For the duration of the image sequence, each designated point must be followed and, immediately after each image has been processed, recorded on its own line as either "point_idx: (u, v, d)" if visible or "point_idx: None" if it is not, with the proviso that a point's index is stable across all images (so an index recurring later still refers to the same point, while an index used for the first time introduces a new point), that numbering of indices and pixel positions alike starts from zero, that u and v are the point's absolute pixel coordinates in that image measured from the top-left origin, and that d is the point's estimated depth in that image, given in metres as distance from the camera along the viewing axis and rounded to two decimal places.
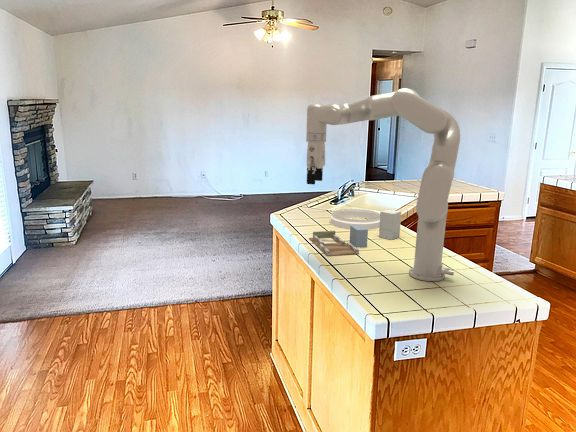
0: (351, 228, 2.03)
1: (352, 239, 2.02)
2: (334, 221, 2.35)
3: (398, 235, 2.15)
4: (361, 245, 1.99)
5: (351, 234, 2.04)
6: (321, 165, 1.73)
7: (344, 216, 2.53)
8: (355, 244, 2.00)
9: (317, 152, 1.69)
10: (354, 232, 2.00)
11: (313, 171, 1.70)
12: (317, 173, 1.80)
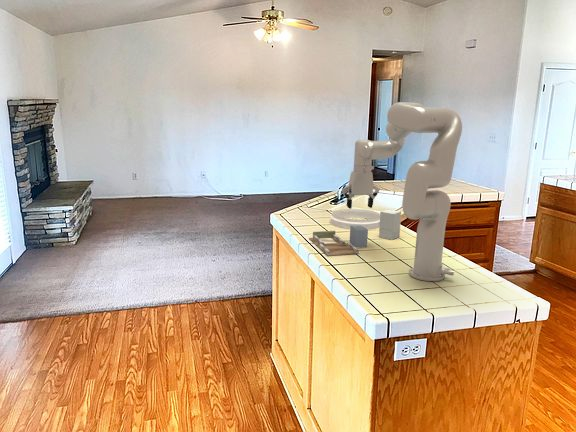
0: (351, 228, 2.03)
1: (352, 239, 2.02)
2: (334, 221, 2.35)
3: (398, 235, 2.15)
4: (361, 245, 1.99)
5: (351, 234, 2.04)
6: None
7: (344, 216, 2.53)
8: (355, 244, 2.00)
9: None
10: (354, 232, 2.00)
11: None
12: None
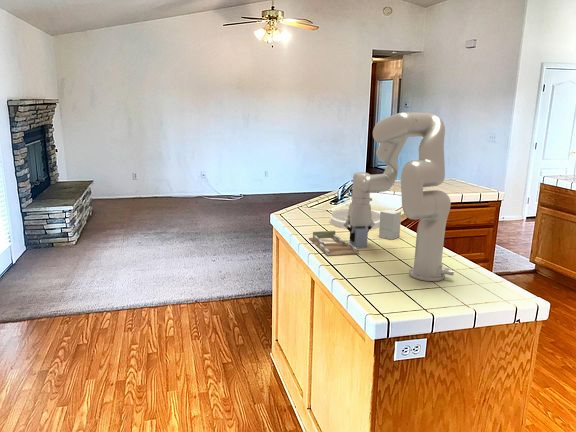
0: None
1: None
2: (334, 221, 2.35)
3: (398, 235, 2.15)
4: (361, 245, 1.99)
5: None
6: None
7: (344, 216, 2.53)
8: (355, 244, 2.00)
9: None
10: (354, 232, 2.00)
11: None
12: None
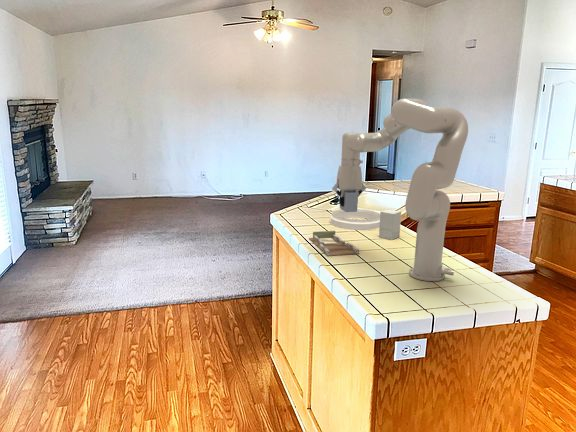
0: None
1: None
2: (334, 221, 2.35)
3: (398, 235, 2.15)
4: (351, 209, 1.89)
5: None
6: None
7: (344, 216, 2.53)
8: (344, 208, 1.90)
9: None
10: (344, 196, 1.90)
11: None
12: None
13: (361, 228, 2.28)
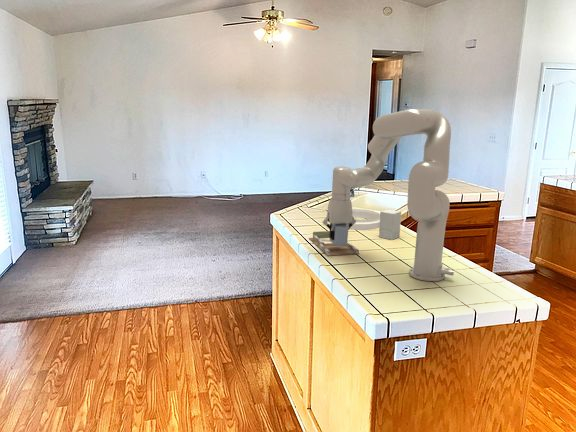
0: None
1: None
2: None
3: (398, 235, 2.15)
4: (341, 243, 1.89)
5: None
6: None
7: None
8: (335, 242, 1.90)
9: None
10: (334, 230, 1.90)
11: None
12: None
13: (361, 228, 2.28)
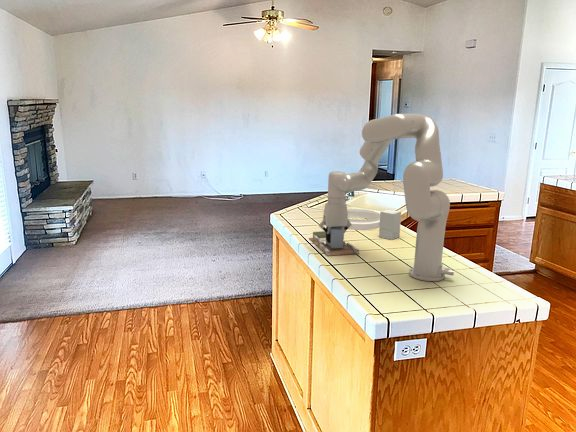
0: None
1: None
2: None
3: (398, 235, 2.15)
4: (337, 246, 1.94)
5: None
6: None
7: None
8: (331, 245, 1.95)
9: None
10: (330, 233, 1.95)
11: None
12: None
13: (361, 228, 2.28)
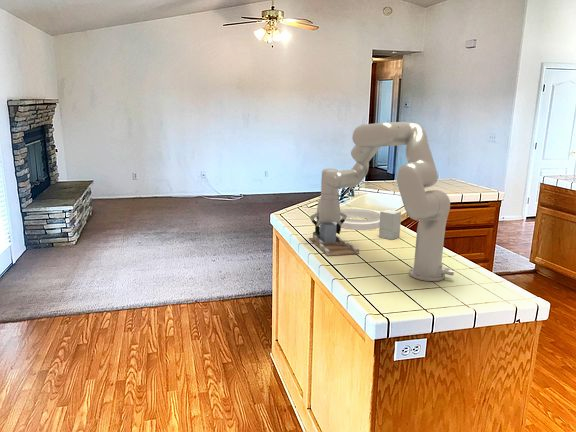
0: (321, 224, 2.07)
1: (322, 235, 2.06)
2: None
3: (398, 235, 2.15)
4: (330, 241, 2.03)
5: (321, 230, 2.07)
6: None
7: None
8: (324, 240, 2.03)
9: None
10: (323, 228, 2.04)
11: None
12: None
13: (361, 228, 2.28)
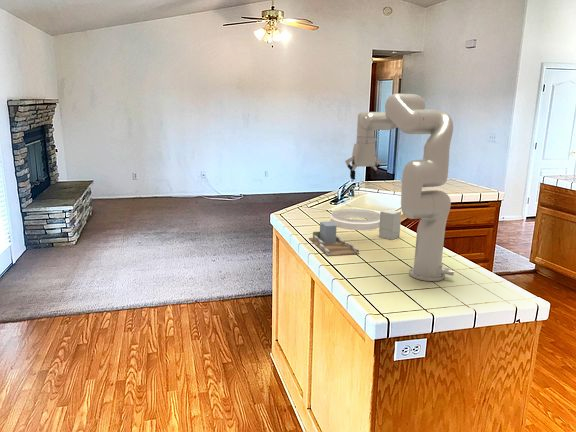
0: (321, 224, 2.07)
1: (322, 235, 2.06)
2: (334, 221, 2.35)
3: (398, 235, 2.15)
4: (330, 241, 2.03)
5: (321, 230, 2.07)
6: None
7: (344, 216, 2.53)
8: (324, 240, 2.03)
9: None
10: (323, 228, 2.04)
11: None
12: None
13: (361, 228, 2.28)
